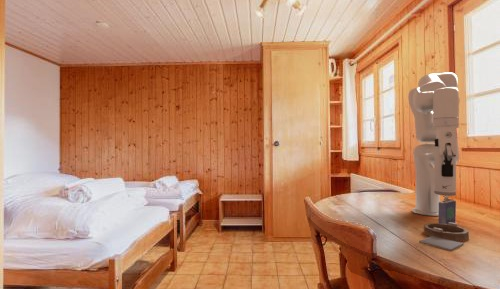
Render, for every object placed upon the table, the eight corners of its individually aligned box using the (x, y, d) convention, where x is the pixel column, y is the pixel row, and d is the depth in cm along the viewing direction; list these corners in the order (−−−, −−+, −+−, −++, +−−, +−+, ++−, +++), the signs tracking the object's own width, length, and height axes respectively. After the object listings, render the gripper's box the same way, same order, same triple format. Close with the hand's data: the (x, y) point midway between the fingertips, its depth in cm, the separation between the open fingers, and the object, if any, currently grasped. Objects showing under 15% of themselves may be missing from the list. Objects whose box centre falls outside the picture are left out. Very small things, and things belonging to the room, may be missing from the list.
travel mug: (448, 196, 97) (448, 136, 96) (430, 193, 103) (430, 137, 103) (461, 195, 99) (461, 136, 98) (443, 192, 105) (443, 137, 105)
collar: (434, 227, 109) (434, 219, 109) (474, 236, 99) (474, 226, 99) (417, 234, 102) (417, 224, 102) (458, 244, 91) (458, 233, 91)
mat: (432, 237, 98) (432, 235, 98) (463, 245, 91) (463, 243, 91) (419, 242, 93) (419, 240, 93) (451, 251, 85) (451, 249, 85)
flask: (444, 228, 109) (444, 197, 109) (435, 226, 111) (435, 196, 111) (457, 224, 114) (457, 195, 114) (448, 223, 116) (448, 194, 117)
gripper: (464, 122, 91) (464, 179, 91) (453, 124, 107) (453, 173, 107) (436, 122, 94) (436, 177, 95) (429, 125, 110) (429, 172, 110)
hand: (445, 174), depth 101 cm, fingers closed on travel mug, 6 cm apart
